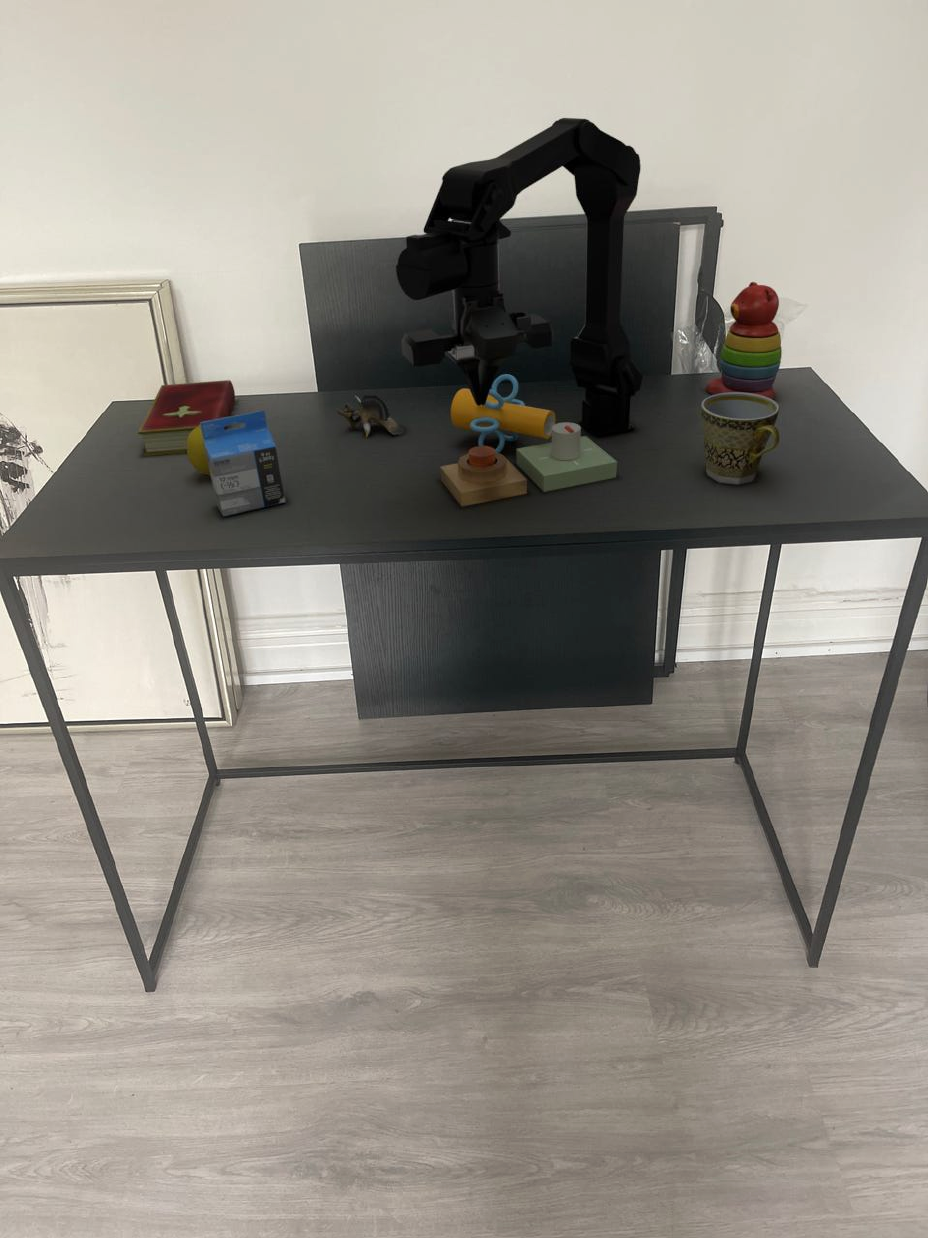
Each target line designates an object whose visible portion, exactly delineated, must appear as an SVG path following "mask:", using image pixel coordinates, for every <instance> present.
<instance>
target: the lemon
mask: <svg viewBox="0 0 928 1238" xmlns="http://www.w3.org/2000/svg"><path fill="white" fill-rule="evenodd" d="M186 454H187V457H188V460H189V462H190V464H191V465H192V467H193V468H194V469H195V470H196V471H198V472H199V473H201V474H205V475H207V476H209V477H211V474H210V470H209V466H208V461H207V457H206V453H205V449H204V444H203V435H202V431H201V426H200V425H199V426H198V427H197V428H195V429H194V430H192V431H191V433H190V434H189V436H188V439H187V453H186Z"/></svg>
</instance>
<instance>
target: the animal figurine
mask: <svg viewBox="0 0 928 1238" xmlns="http://www.w3.org/2000/svg"><path fill="white" fill-rule="evenodd" d="M354 398H355V399H356V401H357V402H358V405H359V408H357V409H355V410H353V406H352V405H350V404H349V403H346V404H344V405H343V407H342V408H343V411H342V410H340V409H338V408H335V410H336V413H337V414H338V415H339V416H342V417H344V418H346V420H347V421H348V422H349V424H350V428H351V429H354V428H355V427H356V425H357V424H358V423H361V424H362V426H363V430H364V433H365V438H368V437H369V436H370V435H369V434H370V433H371V424H372V423H373V424H375V423H376V424H378V425H380V426H381V427H384V428H385V430H387V431H388V432H389V433H390V434H391V435H393V436H399V435H403V434H404V429H403V427H402V426H401V424H400V423H398V421H396V420H395V419H393V417H391V413H390V411H389V410H390V409H389V407H388V405H387V404H386V402H385V401H384V400H383V399H382V398H381V397H380V396H378V395H372V394H368V395H367V394H365V395H363V397H362V398H361V399H360V398H359V397H358V396H356V395H354ZM354 416H358V417H356V418H355V419H354Z"/></svg>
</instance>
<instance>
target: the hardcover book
mask: <svg viewBox="0 0 928 1238" xmlns="http://www.w3.org/2000/svg"><path fill="white" fill-rule="evenodd" d="M235 401H236V393H235V388H234V384H233V383H232V381H231V380H230V379H225V380H223V379H222V380H212V381H199V382H187V383H186V382H185V383H172V384H161V386H160V388H159V389H158V391H157V393H156V395H155V397H154V399H153V401H152V404H151V406H150V407H149V410H147V411H148V412H147V414H146V415H145V417H144V419H143V421H142V424H141V425H140V426H139V429H138V430H137V433H138V435H142V439H143V444H144V448H145V449H144V452H143V457H149V456H150V457H151V456H162V455H174V454H187V439H188V436H189V434H190V433H191V431H192V430H194V429H195V428H197V427H198V426H199V425H200V422H205V421H210V420H215V419H220V418H225V417H231V414H232V410H233V407H234V404H235ZM227 427H228V426H225V427H224V430H227Z"/></svg>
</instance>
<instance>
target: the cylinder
mask: <svg viewBox="0 0 928 1238" xmlns="http://www.w3.org/2000/svg"><path fill="white" fill-rule="evenodd" d="M503 381H510V382H511V384H512V391H511V393H510V394H509V395H508V396H506V397H502V396H501V394H499V393H498V386H499V384H500V383H502V382H503ZM518 393H519V382H518V380H517V379H516V377H515V376H513V375H512V374H507V373H504V374H501V375H499V376H498V377H496V378H495V379H494V380H493V382H492V385H491V388H490V391H489V394H488V397H487V400H486V403H485V405H480V406H478V405H477V404H476V403H475V401H474V398H473V396H472V394H471V391H470V389H469V388H460V389H459V390H458V391H456V393H455V395H454V397H453V399H452V401H451V406H450V420H451V423H452V425H453V426H454V427H455V428H457V429H459V430H463V431H464V430H465V431H469V432H473V433H480V435H479V438H478V440H477V442H478V444H477V445H478V446H485V445H484V444H485V443H484V441H485V439H486V437H487V436H488V435H489V434H494V435H495V436H496V437H497V438H499V443H498V445H497V447H496V448H494V449H495V452H496V453H499V454H501V452H502V451H503V449H504V447H505V445H506V442H515V441H517V440H518V439H519V434H520V435H524V436H530V437H535V438H541V439H544V440H549V439H550V438H552V426H554V425H555V424H556V420H557V419H556V413H555V411H554V410H550V409H544V408H538V407H533V406H527V405H526V404H525V402H524V401H522V400H521V399H516V397H517V395H518ZM502 431H505V432H509V433H511V434H512V435H510V436H509V435H506V434H504V432H502Z"/></svg>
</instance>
